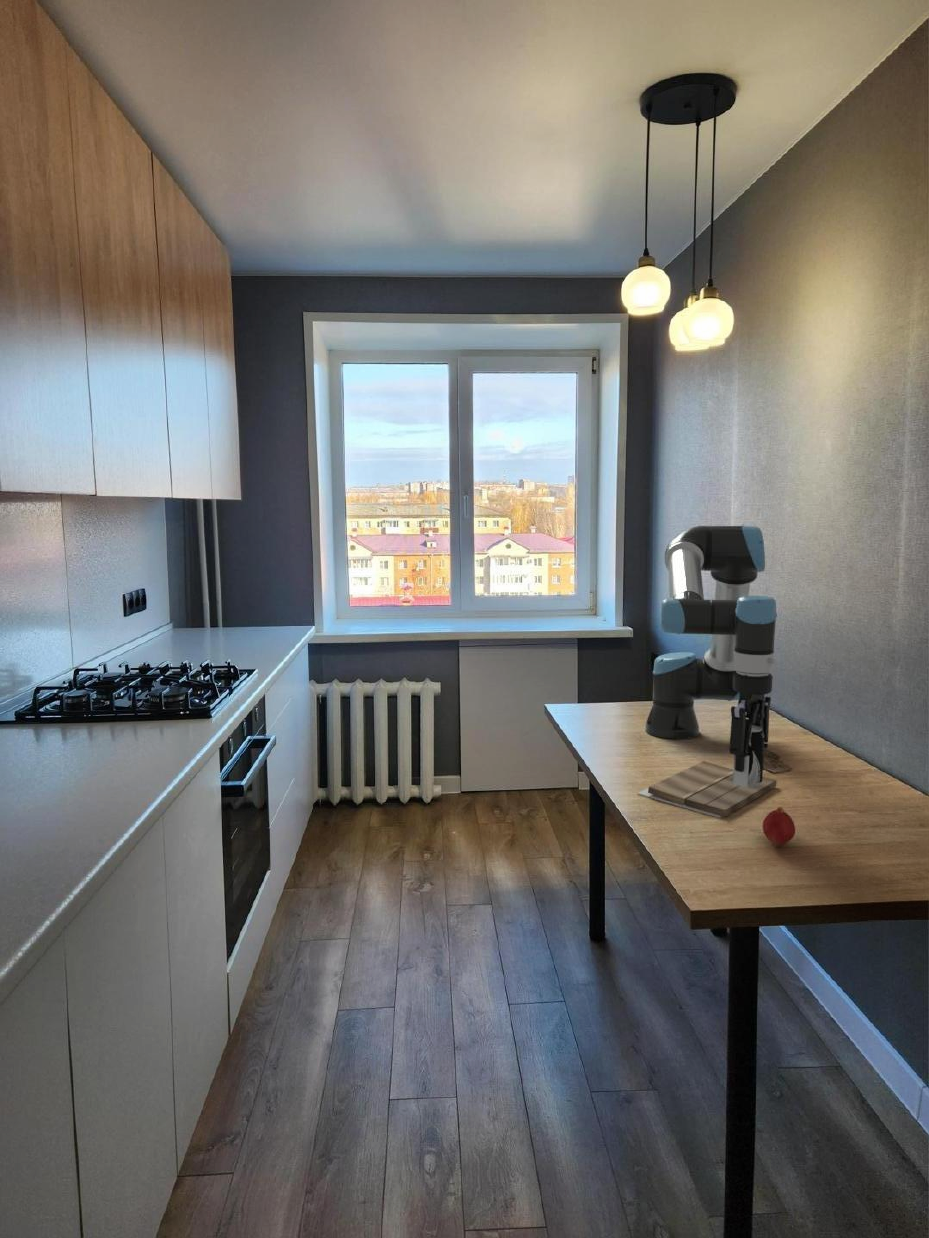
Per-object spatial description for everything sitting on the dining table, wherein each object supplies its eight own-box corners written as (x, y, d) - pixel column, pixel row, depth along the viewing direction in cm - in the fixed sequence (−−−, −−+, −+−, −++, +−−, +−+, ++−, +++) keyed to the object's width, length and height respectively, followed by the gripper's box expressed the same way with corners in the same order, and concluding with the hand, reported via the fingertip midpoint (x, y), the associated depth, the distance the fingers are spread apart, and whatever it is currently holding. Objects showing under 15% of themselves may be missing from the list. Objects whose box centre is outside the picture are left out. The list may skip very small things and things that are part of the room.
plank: (703, 766, 193) (704, 760, 193) (737, 776, 187) (738, 770, 187) (648, 792, 175) (648, 786, 175) (684, 805, 169) (684, 798, 168)
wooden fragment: (798, 775, 190) (798, 771, 190) (752, 774, 190) (753, 770, 190) (764, 744, 215) (764, 741, 215) (724, 744, 216) (724, 740, 216)
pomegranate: (756, 840, 151) (758, 801, 150) (784, 839, 151) (786, 800, 150) (770, 853, 145) (772, 812, 144) (799, 852, 146) (802, 811, 145)
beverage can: (726, 781, 161) (729, 725, 160) (745, 776, 164) (748, 721, 162) (749, 789, 156) (751, 732, 155) (768, 784, 159) (771, 728, 157)
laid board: (739, 777, 187) (739, 770, 186) (776, 786, 180) (776, 779, 180) (685, 805, 168) (685, 798, 168) (724, 816, 162) (725, 809, 162)
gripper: (750, 683, 148) (744, 798, 151) (790, 667, 161) (783, 774, 164) (713, 677, 153) (709, 788, 156) (755, 662, 166) (749, 766, 169)
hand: (747, 781), depth 160 cm, fingers closed on beverage can, 6 cm apart
